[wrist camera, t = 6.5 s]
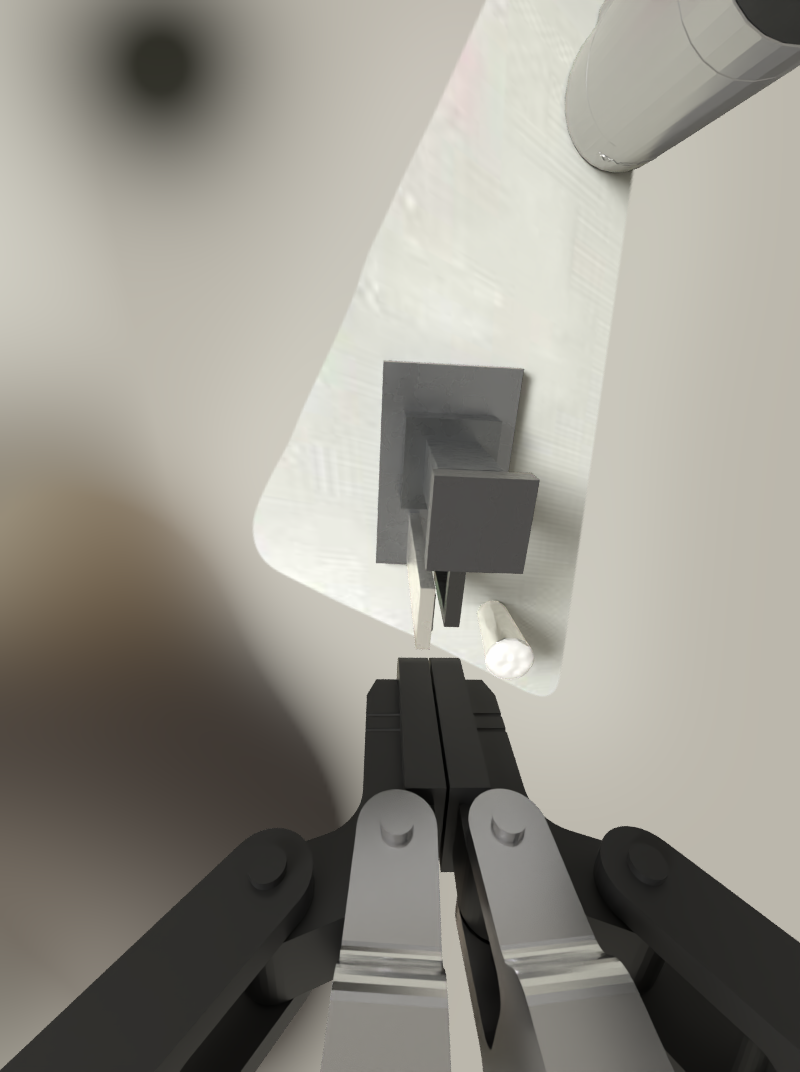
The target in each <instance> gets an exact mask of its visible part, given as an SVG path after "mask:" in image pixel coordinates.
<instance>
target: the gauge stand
mask: <svg viewBox="0 0 800 1072" xmlns="http://www.w3.org/2000/svg"><path fill="white" fill-rule="evenodd" d="M523 371H524V369H521V368H510V367H492V366H474V365H456V364H438V363H420V362H402V361H384V364H383V391H382V417H381V444H380V471H379V497H378V524H377V551H376V563H390V564H407V572H408V581H409V591H410V600H411V610H412V619H413V629H414V638H415V647H416V649H428V650H429V649H430V639H431V631H432V629H433V618H434V608H435V598H436V594H435V585H434V580H433V575H432V571H426V567H425V561H424V557H425V544H426V532H427V520H428V508H429V496H430V484H431V472H432V469H452V470H475V471H498V472H508V471H509V465H510V458H511V451H512V445H513V438H514V431H515V425H516V418H517V411H518V405H519V398H520V391H521V385H522V378H523Z"/></svg>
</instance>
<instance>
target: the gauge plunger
mask: <svg viewBox="0 0 800 1072" xmlns="http://www.w3.org/2000/svg"><path fill="white" fill-rule="evenodd" d="M538 486H539V479H538V478H537V477H536V476H535V475H533V474H532V473H521V472H498V471H475V470H452V469H432V472H431V484H430V496H429V508H428V520H427V532H426V544H425V557H424V561H425V567H426V571H434V581H435V586H436V590H437V595H438V600H439V605H440V609H441V614H442V619H443V624H444V627H459V623H460V615H461V607H462V599H463V591H464V583H465V575H466V572H482V573H513V574H523V570H524V565H525V559H526V553H527V548H528V542H529V537H530V531H531V525H532V520H533V514H534V509H535V503H536V497H537V492H538Z"/></svg>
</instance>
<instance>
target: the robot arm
mask: <svg viewBox="0 0 800 1072" xmlns="http://www.w3.org/2000/svg"><path fill="white" fill-rule="evenodd" d="M799 65H800V0H605V2H604V3H603V5H602V6H601V8H600V11H599V17H598V22H597V25H596V27H595V28H594V30H593V31H592V33H591V34H590V35H589V37H588V38H587V40H586V41H585V43H584V44H583V46H582V47H581V49H580V51H579V53H578V55H577V57H576V59H575V61H574V63H573V66H572V69H571V72H570V75H569V78H568V83H567V89H566V95H565V115H566V121H567V127H568V131H569V134H570V136H571V139H572V141H573V144H574V145H575V147H576V148H577V150H578V152H579V153H580V155H581V156H582V157H583V158H584V159H585V160H587V161H588V162H589V163H590V164H591V165H593V166H595V167H597V168H599V169H601V170H604V171H609V172H627V171H630V170H633V169H637V168H639V167H641V166H643V165H644V164H646V163H648V162H650V161H652V160H654V159H655V158H657V157H658V156H659V155H661V154H662V153H664V152H665V151H667V150H668V149H670V148H671V147H673V146H675V145H677V144H678V143H680V142H681V141H683V140H684V139H686V138H688V137H689V136H691V135H692V134H694V133H695V132H697V131H698V130H700V129H702V128H703V127H705V126H706V125H708V124H709V123H711V122H712V121H714V120H715V119H717V118H719V117H720V116H722V115H723V114H725V113H726V112H728V111H730V110H731V109H733V108H734V107H736V106H737V105H739V104H740V103H742V102H743V101H745V100H747V99H748V98H750V97H751V96H753V95H754V94H756V93H758V92H759V91H761V90H762V89H764V88H765V87H767V86H768V85H770V84H771V83H773V82H775V81H776V80H778V79H779V78H781V77H782V76H784V75H786V74H787V73H789V72H790V71H792V70H793V69H795V68H796V67H798V66H799ZM364 758H365V759H364V781H363V796H362V800H361V803H360V805H359V807H358V809H357V811H356V812H355V814H354V815H353V816H352V817H351V819H350V820H349V821H348V822H346V823H345V824H344V825H343V826H342V827H340V828H338V829H337V830H335V831H332V832H330V833H328V834H325V835H322V836H319V837H317V838H314V839H311V840H308V841H305V840H304V839H303V838H302V837H301V836H300V835H299V834H297V833H296V832H293V831H291V830H288V829H284V828H272V829H267V830H263V831H260V832H258V833H255V834H253V835H252V836H250V837H249V838H247V839H246V840H245V841H243V842H242V843H241V844H240V845H239V846H238V847H236V848H235V849H234V850H233V851H232V852H231V853H230V854H229V855H228V856H227V857H226V858H225V859H224V860H223V861H222V862H221V863H220V864H218V865H217V866H216V867H215V868H214V869H213V870H212V871H211V872H210V873H209V874H208V875H207V876H206V877H205V878H204V879H203V880H202V881H201V882H199V883H198V885H196V886H195V887H194V888H193V889H192V890H191V891H190V892H189V893H188V894H187V895H186V896H185V897H183V898H182V899H181V900H180V901H179V902H178V903H177V904H176V905H175V906H174V907H173V908H172V909H171V910H170V911H169V912H168V913H166V914H165V915H164V916H163V917H162V918H161V919H160V920H159V921H158V922H157V923H156V924H155V925H154V926H153V927H152V928H151V929H150V930H148V931H147V933H145V934H144V935H143V936H142V937H141V938H140V939H139V940H138V941H137V942H136V943H135V944H134V945H133V946H131V947H130V948H129V949H128V950H127V951H126V952H125V953H124V954H123V955H122V956H121V957H120V958H119V959H118V960H117V961H116V962H115V963H113V964H112V965H111V966H110V967H109V968H108V969H107V970H106V971H105V972H104V973H103V974H102V975H101V976H100V977H99V978H98V979H96V980H95V981H94V982H93V983H92V984H91V985H90V986H89V987H88V988H87V989H86V990H85V991H84V992H83V993H82V994H81V995H80V996H78V997H77V998H76V999H75V1000H74V1001H73V1002H72V1003H71V1004H70V1005H69V1006H68V1007H67V1008H66V1009H65V1010H64V1011H63V1012H61V1013H60V1014H59V1015H58V1016H57V1017H56V1018H55V1019H54V1020H53V1021H52V1022H51V1023H50V1024H49V1025H48V1026H47V1027H46V1028H44V1030H42V1031H41V1032H40V1033H39V1034H38V1035H37V1036H36V1037H35V1038H34V1039H33V1040H32V1041H31V1042H30V1043H29V1044H28V1045H26V1046H25V1047H24V1048H23V1049H22V1050H21V1051H20V1052H19V1053H18V1054H17V1055H16V1056H15V1057H14V1058H13V1059H12V1060H11V1061H9V1063H7V1064H6V1065H5V1066H4V1067H3V1068H2V1069H1V1070H0V1072H255V1071H256V1070H257V1068H258V1067H259V1065H260V1064H261V1063H262V1061H263V1060H264V1058H265V1057H266V1056H267V1054H268V1053H269V1051H270V1050H271V1049H272V1047H273V1046H274V1044H275V1043H276V1041H277V1040H278V1039H279V1037H280V1036H281V1034H282V1033H283V1032H284V1030H285V1029H286V1027H287V1026H288V1024H289V1023H290V1022H291V1020H292V1019H293V1017H294V1016H295V1015H296V1013H297V1012H298V1010H299V1009H300V1007H301V1006H302V1005H303V1003H304V1002H305V1000H306V999H307V997H308V996H309V994H310V992H311V991H312V989H314V988H316V987H318V986H320V985H322V984H325V983H327V982H329V981H331V980H333V984H332V990H331V997H330V1005H329V1012H328V1020H327V1027H326V1034H325V1042H324V1049H323V1057H322V1064H321V1071H320V1072H451V1061H450V1037H449V1013H448V994H447V981H446V973H445V969H444V968H443V963H442V946H441V922H440V921H441V918H440V890H439V864H438V861H440V870H441V872H454V875H455V882H456V889H457V901H456V910H455V917H456V924H457V930H458V935H459V940H460V945H461V950H462V956H463V961H464V966H465V971H466V976H467V982H468V986H469V992H470V997H471V1002H472V1007H473V1013H474V1018H475V1023H476V1029H477V1034H478V1039H479V1045H480V1051H481V1057H482V1066H483V1072H800V943H799V942H798V941H797V940H795V939H794V938H793V937H791V936H790V935H789V934H787V933H786V932H785V931H783V930H782V929H781V928H779V927H778V926H777V925H775V924H774V923H773V922H771V921H770V920H769V919H767V918H766V917H765V916H763V915H762V914H761V913H759V912H758V911H757V910H755V909H754V908H753V907H751V906H750V905H749V904H747V903H746V902H745V901H743V900H742V899H741V898H739V897H738V896H737V895H735V894H734V893H733V892H731V891H730V890H729V889H727V888H726V887H725V886H723V885H722V884H721V883H719V882H718V881H717V880H715V879H714V878H713V877H711V876H710V875H709V874H707V873H706V872H705V871H703V870H702V869H701V868H699V867H698V866H697V865H695V864H694V863H693V862H691V861H690V860H689V859H687V858H686V857H685V856H683V855H682V854H681V853H679V852H678V851H677V850H675V849H674V848H673V847H671V846H670V845H669V844H667V843H666V842H665V841H663V840H662V839H660V838H659V837H657V836H656V835H654V834H652V833H650V832H648V831H645V830H643V829H640V828H636V827H629V826H622V827H617V828H614V829H612V830H610V831H609V832H608V833H607V834H606V835H605V836H604V838H603V839H602V840H599V839H595V838H592V837H589V836H586V835H582V834H579V833H576V832H573V831H569V830H567V829H564V828H561V827H560V826H558V825H555V824H554V823H552V822H551V821H549V820H548V819H546V818H545V817H544V815H543V814H542V812H541V811H540V810H539V808H538V807H537V806H536V805H535V804H534V803H533V802H532V801H531V800H529V798H528V796H527V794H526V792H525V789H524V786H523V783H522V779H521V776H520V773H519V770H518V767H517V764H516V760H515V757H514V754H513V751H512V748H511V745H510V741H509V738H508V735H507V733H506V732H505V725H504V722H503V719H502V717H501V713H500V710H499V706H498V703H497V700H496V697H495V695H494V693H493V692H492V691H491V690H490V689H489V688H488V687H487V685H486V684H485V683H484V682H483V681H482V680H465V677H464V673H463V669H462V665H461V661H460V659H459V658H429V662H428V658H398V663H397V680H390V679H388V680H386V679H385V680H384V679H381V680H380V679H377V680H376V681H375V683H374V684H373V686H372V688H371V689H370V691H369V693H368V694H367V709H366V732H365V756H364Z"/></svg>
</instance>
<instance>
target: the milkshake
mask: <svg viewBox="0 0 800 1072" xmlns="http://www.w3.org/2000/svg"><path fill="white" fill-rule="evenodd" d="M477 617H478V622H479V627H480V632H481V637H482V643H483V650H484V656H485V664H486V667H487V669H488V670H489V671H490V672H491V673H492V674H493V675H494V676H495V677H498V678H502V679H506V680H510V679H514V678H519V677H522V676H523V675H525V674H526V673H527V672H528V671H529V669H530V668H531V667H532V665H533V662H534V654H533V651H532V649H531V646H529V644H528V643H527V641H526V640H525V638H524V636H523V635H522V633H521V632H520V630H519V629H518V627H517V625H516V624H515V622H514V620H513V619H512V617H511V615H510V614H509V612H508V610H507V609H506V607H505V605H503V604H502V603H500V602H499V601H487V602H485V603H484V604H482V605H480V607H479V609H478V612H477Z"/></svg>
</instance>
